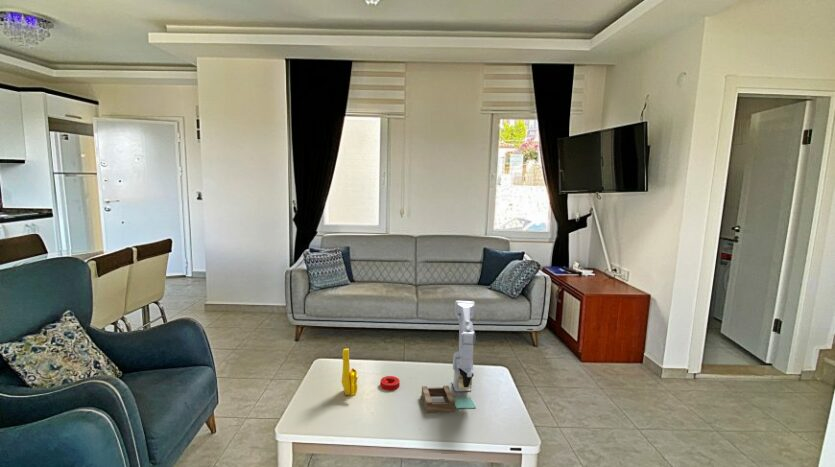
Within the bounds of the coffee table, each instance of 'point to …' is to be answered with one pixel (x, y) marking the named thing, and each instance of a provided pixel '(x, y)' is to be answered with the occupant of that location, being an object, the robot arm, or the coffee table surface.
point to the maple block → (460, 383)
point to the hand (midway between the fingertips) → (464, 384)
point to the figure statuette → (348, 375)
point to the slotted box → (438, 399)
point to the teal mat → (464, 403)
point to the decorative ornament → (390, 383)
